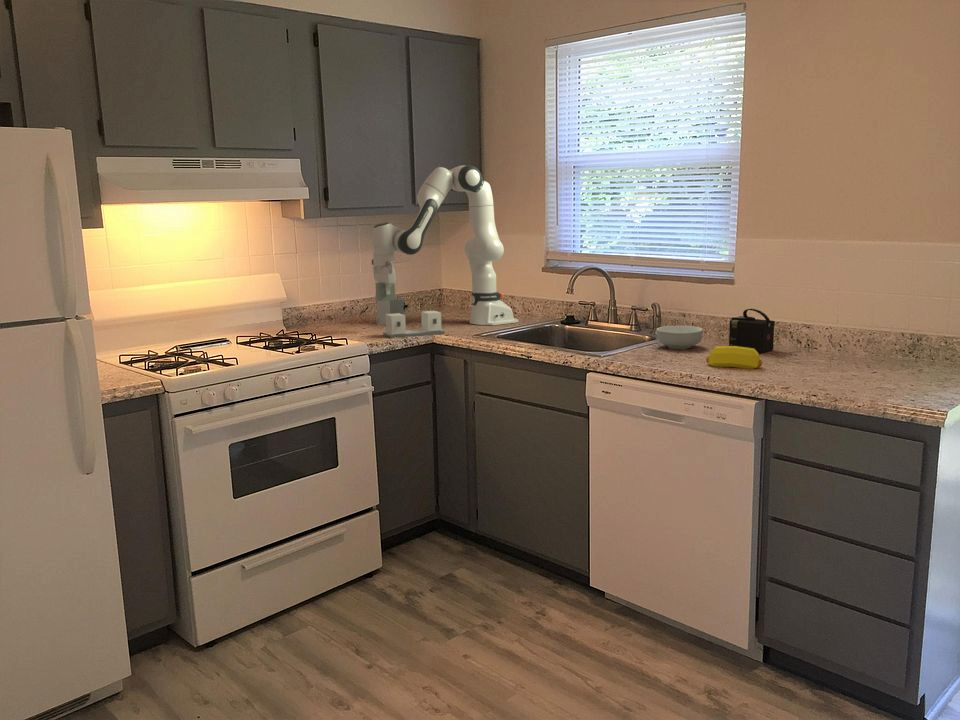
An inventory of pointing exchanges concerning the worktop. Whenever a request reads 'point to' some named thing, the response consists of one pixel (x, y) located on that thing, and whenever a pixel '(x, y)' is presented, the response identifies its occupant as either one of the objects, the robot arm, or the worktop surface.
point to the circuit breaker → (389, 308)
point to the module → (381, 292)
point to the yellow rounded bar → (734, 357)
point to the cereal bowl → (679, 336)
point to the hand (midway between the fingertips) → (385, 293)
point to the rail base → (398, 329)
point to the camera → (752, 332)
